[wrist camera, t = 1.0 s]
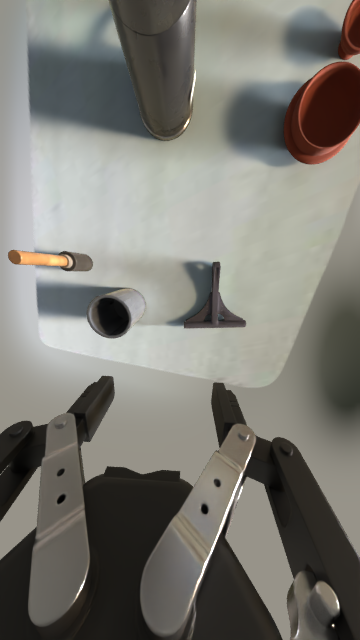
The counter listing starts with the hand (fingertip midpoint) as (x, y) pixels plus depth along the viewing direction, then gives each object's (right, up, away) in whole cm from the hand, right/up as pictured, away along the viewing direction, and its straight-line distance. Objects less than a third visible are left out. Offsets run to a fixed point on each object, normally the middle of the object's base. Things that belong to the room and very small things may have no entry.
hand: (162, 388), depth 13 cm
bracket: (+10, +11, +25) cm, 29 cm away
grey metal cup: (-11, +9, +27) cm, 30 cm away
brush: (-20, +18, +24) cm, 36 cm away
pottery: (+26, +43, +15) cm, 53 cm away
